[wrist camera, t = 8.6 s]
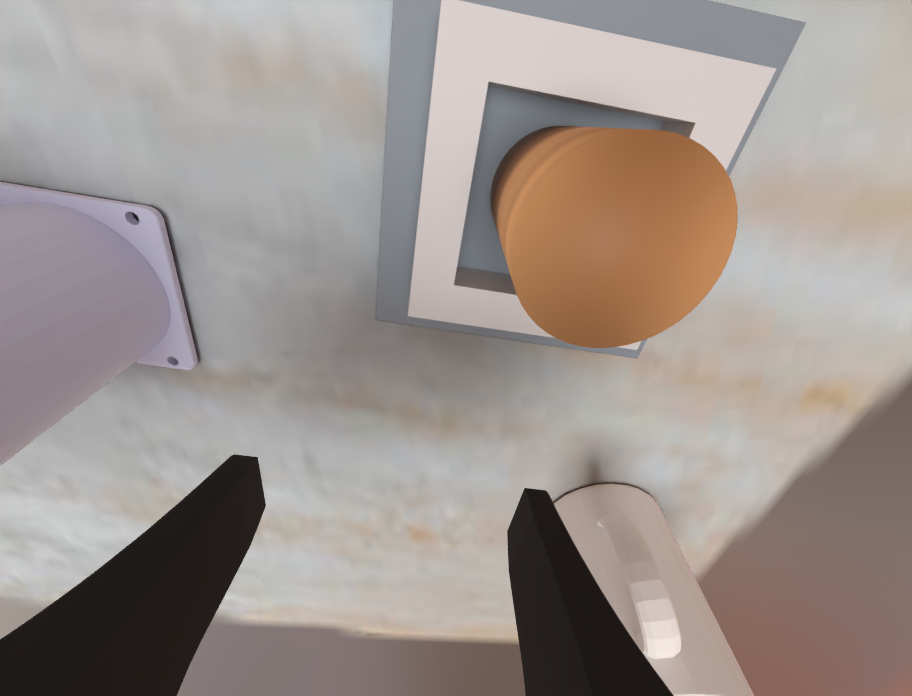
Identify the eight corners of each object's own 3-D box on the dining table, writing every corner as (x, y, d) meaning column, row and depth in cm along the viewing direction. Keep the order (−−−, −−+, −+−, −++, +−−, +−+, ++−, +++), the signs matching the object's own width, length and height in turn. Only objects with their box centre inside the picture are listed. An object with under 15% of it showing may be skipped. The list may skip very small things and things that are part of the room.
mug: (657, 541, 28) (751, 745, 19) (550, 556, 29) (590, 754, 20) (659, 423, 22) (798, 642, 13) (521, 447, 23) (561, 665, 14)
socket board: (381, 305, 18) (365, 344, 15) (404, -51, 11) (384, -107, 8) (625, 341, 19) (656, 385, 16) (770, 31, 12) (868, 6, 9)
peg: (482, 250, 15) (495, 339, 9) (500, 118, 12) (533, 116, 6) (594, 261, 15) (682, 356, 9) (631, 133, 13) (783, 143, 7)
